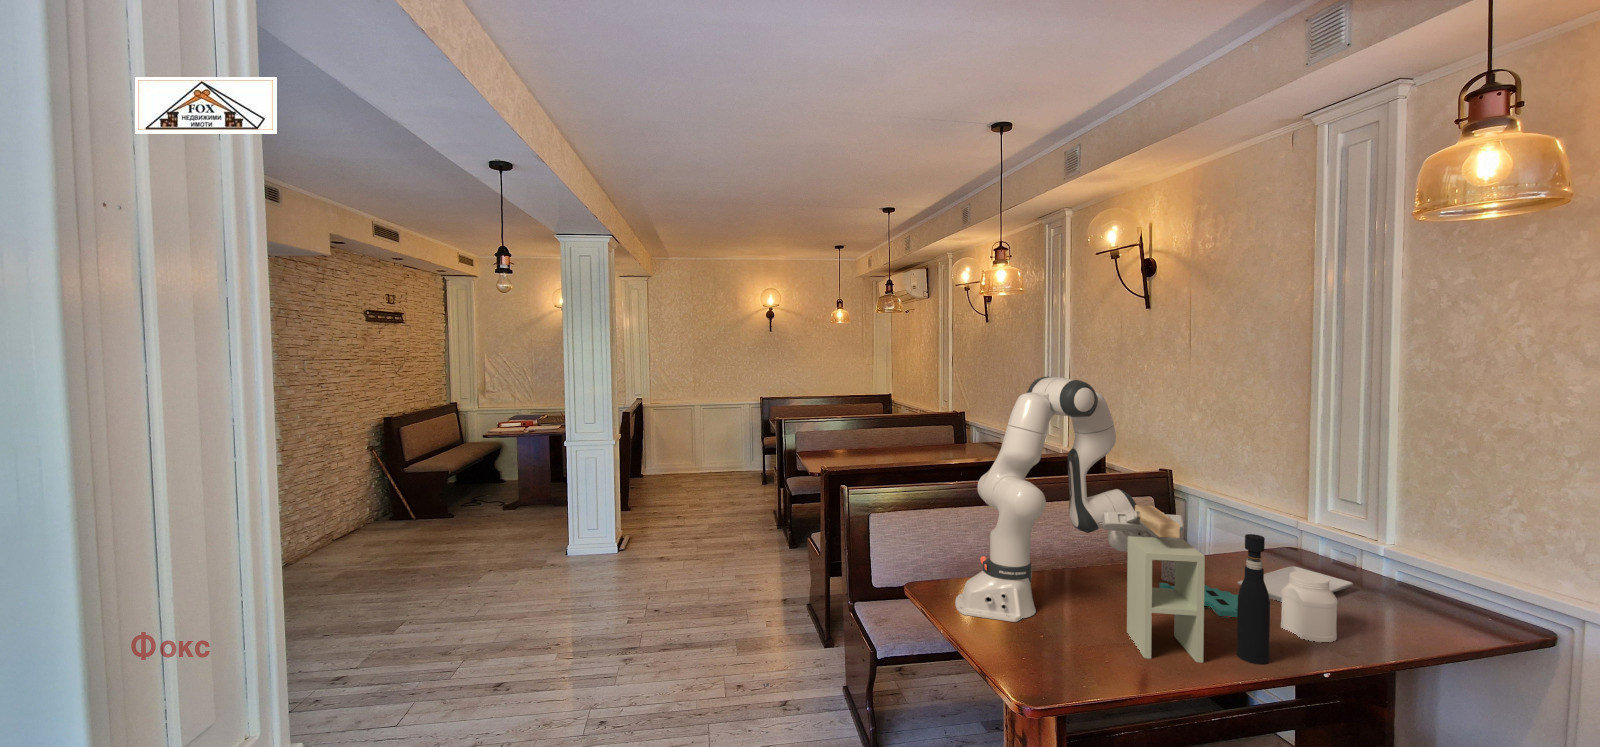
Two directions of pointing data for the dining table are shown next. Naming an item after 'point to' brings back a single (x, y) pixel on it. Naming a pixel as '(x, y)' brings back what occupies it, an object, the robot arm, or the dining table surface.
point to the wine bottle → (1253, 607)
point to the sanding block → (1158, 522)
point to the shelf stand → (1166, 593)
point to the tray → (1281, 578)
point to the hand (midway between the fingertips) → (1149, 514)
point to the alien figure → (1217, 600)
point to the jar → (1309, 607)
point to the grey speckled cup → (1168, 571)
